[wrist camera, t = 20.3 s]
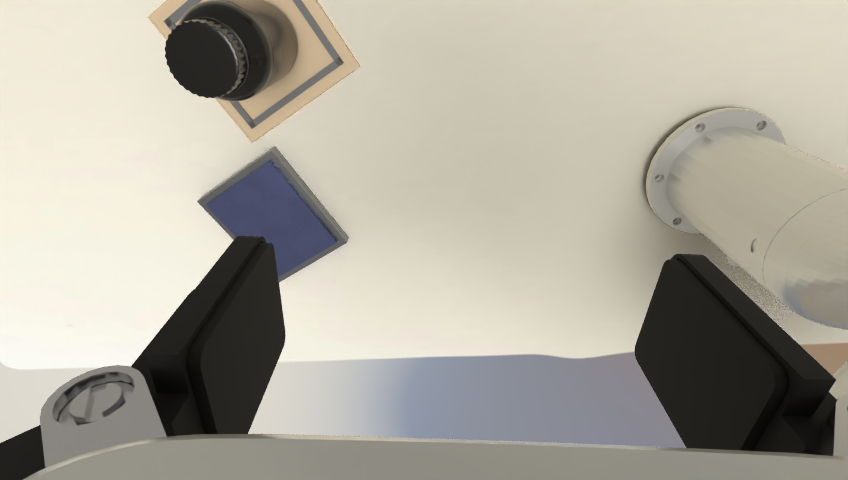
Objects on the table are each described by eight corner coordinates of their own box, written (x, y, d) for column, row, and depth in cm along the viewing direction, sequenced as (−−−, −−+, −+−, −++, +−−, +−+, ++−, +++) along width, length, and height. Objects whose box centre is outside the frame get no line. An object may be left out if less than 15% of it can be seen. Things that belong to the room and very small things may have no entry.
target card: (359, 66, 41) (359, 66, 40) (253, 141, 44) (251, 143, 44) (262, -82, 36) (260, -83, 35) (149, 17, 39) (146, 17, 39)
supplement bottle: (210, 55, 40) (132, 76, 30) (238, -20, 37) (163, -26, 27) (281, 97, 42) (232, 131, 31) (313, 28, 39) (270, 41, 29)
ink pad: (348, 237, 49) (346, 244, 48) (278, 278, 52) (274, 286, 50) (274, 146, 44) (269, 151, 43) (202, 196, 47) (195, 203, 46)
